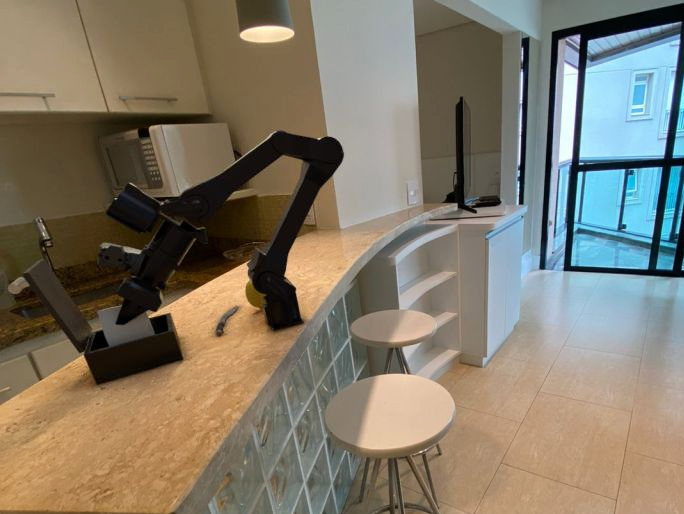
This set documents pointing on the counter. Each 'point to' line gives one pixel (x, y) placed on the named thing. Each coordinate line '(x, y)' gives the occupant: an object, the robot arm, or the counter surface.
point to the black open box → (133, 352)
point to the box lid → (55, 302)
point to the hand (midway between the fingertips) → (119, 323)
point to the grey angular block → (124, 327)
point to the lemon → (254, 296)
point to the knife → (220, 326)
